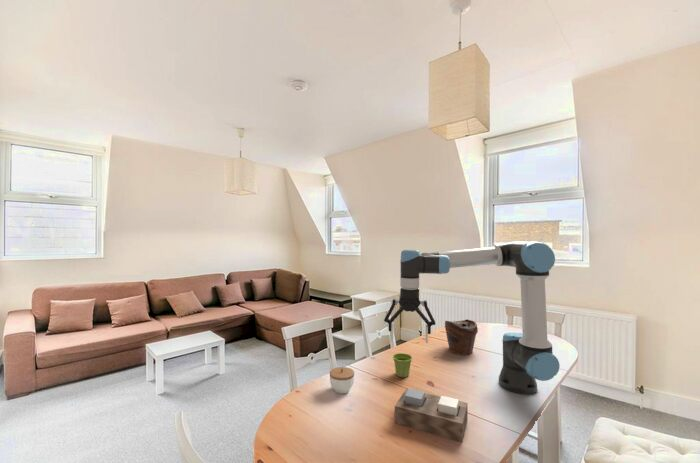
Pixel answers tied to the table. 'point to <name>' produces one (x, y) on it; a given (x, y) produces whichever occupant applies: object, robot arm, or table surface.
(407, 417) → the key block
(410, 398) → the slate key
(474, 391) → the table surface
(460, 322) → the brown tapered cylinder
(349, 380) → the lidded jar
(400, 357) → the plant pot
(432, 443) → the table surface
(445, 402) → the cream key
